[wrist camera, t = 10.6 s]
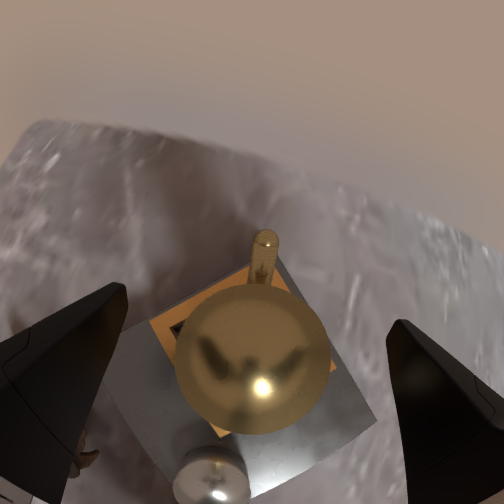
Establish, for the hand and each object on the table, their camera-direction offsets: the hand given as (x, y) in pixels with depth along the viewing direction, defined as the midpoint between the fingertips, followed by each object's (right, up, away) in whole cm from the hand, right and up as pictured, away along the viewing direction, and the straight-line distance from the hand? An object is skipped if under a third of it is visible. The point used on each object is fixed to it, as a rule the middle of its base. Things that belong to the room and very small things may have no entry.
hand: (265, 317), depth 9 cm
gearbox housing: (-2, -9, +11) cm, 15 cm away
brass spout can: (-1, -4, +13) cm, 14 cm away
